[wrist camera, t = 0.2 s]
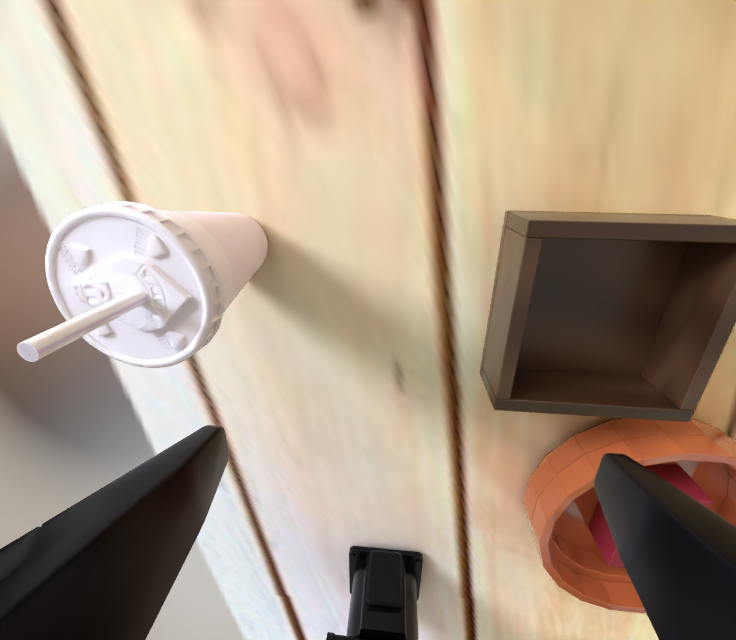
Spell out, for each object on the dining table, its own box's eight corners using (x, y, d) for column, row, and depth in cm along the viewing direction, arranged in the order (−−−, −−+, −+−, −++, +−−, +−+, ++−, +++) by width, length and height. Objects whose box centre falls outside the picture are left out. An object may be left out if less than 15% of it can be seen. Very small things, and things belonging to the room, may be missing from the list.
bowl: (695, 566, 29) (737, 623, 26) (507, 549, 30) (522, 601, 27) (782, 417, 23) (853, 464, 20) (544, 403, 24) (569, 444, 21)
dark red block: (647, 532, 28) (674, 572, 25) (587, 527, 28) (607, 566, 25) (679, 464, 25) (714, 501, 22) (612, 459, 25) (638, 495, 22)
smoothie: (292, 294, 23) (154, 457, 10) (197, 290, 23) (-52, 439, 11) (285, 189, 20) (88, 226, 8) (178, 186, 21) (-179, 216, 8)
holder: (644, 382, 23) (689, 422, 20) (479, 373, 24) (493, 410, 20) (708, 214, 19) (781, 226, 15) (505, 210, 20) (529, 220, 16)
